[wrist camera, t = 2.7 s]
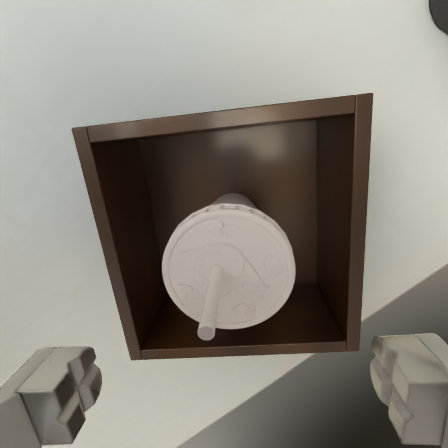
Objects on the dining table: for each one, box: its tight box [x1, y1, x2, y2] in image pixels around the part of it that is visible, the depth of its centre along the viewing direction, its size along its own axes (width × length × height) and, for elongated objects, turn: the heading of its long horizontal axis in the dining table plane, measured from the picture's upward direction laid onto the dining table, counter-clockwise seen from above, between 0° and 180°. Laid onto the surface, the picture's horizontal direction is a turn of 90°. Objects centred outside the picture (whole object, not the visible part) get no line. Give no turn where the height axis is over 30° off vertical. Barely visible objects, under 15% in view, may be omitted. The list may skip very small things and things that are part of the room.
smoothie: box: [162, 193, 295, 340], centre depth 16 cm, size 6×6×14 cm
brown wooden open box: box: [72, 93, 373, 360], centre depth 19 cm, size 15×15×7 cm
